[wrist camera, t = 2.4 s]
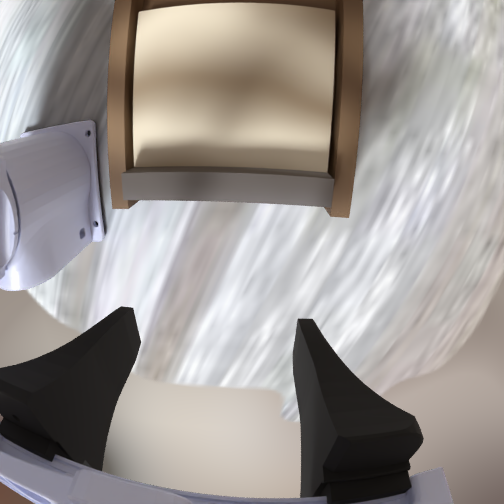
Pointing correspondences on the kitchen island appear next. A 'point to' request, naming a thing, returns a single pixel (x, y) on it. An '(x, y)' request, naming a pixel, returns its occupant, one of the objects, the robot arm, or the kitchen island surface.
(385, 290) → the kitchen island surface
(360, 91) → the walnut track
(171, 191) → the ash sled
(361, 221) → the kitchen island surface
